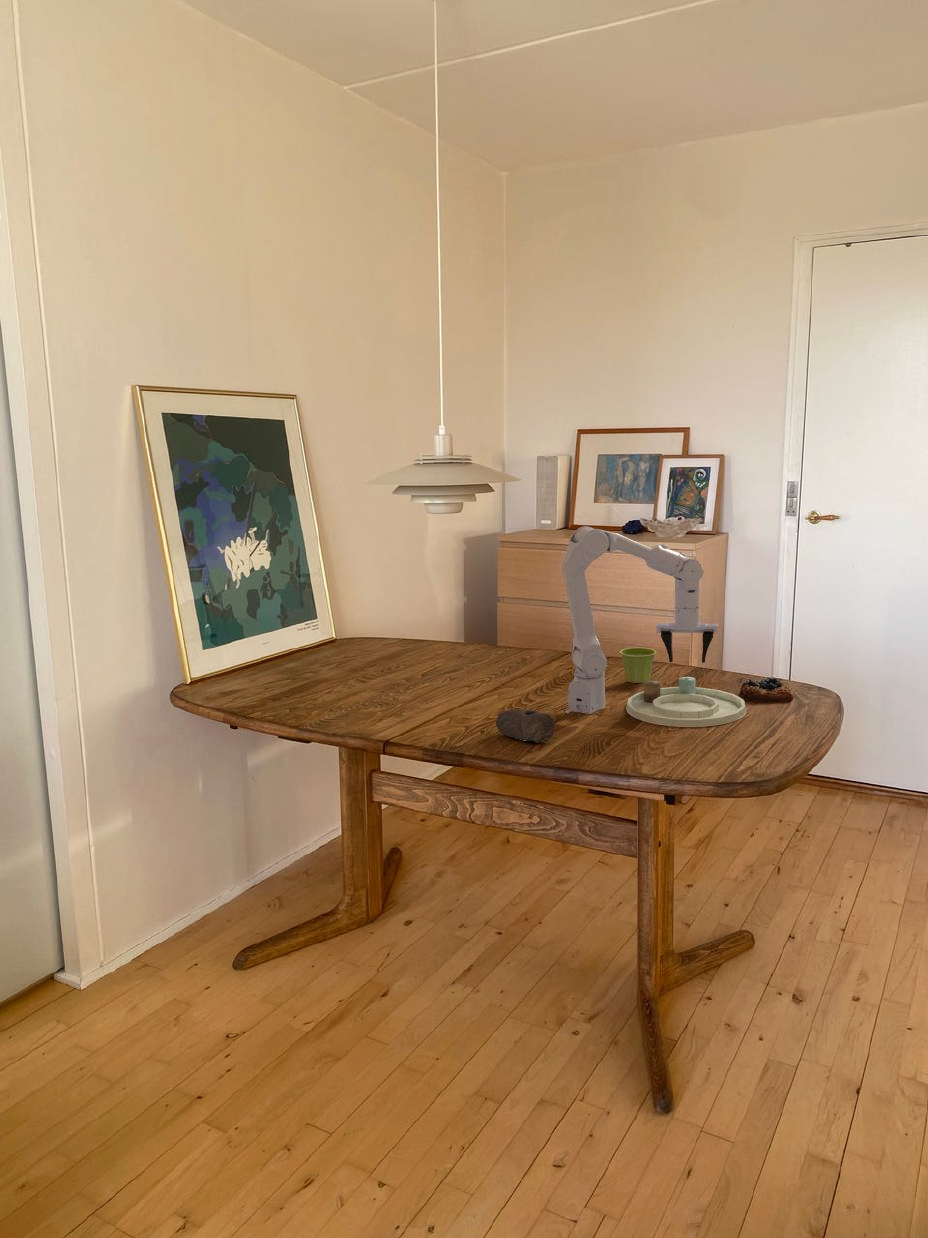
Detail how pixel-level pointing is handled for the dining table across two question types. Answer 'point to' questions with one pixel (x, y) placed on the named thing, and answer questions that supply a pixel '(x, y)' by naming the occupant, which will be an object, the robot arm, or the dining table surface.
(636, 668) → the plant pot
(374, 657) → the dining table surface
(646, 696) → the walnut bead
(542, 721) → the perforated stone tool
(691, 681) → the teal bead
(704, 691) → the groove tray
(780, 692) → the pastry
